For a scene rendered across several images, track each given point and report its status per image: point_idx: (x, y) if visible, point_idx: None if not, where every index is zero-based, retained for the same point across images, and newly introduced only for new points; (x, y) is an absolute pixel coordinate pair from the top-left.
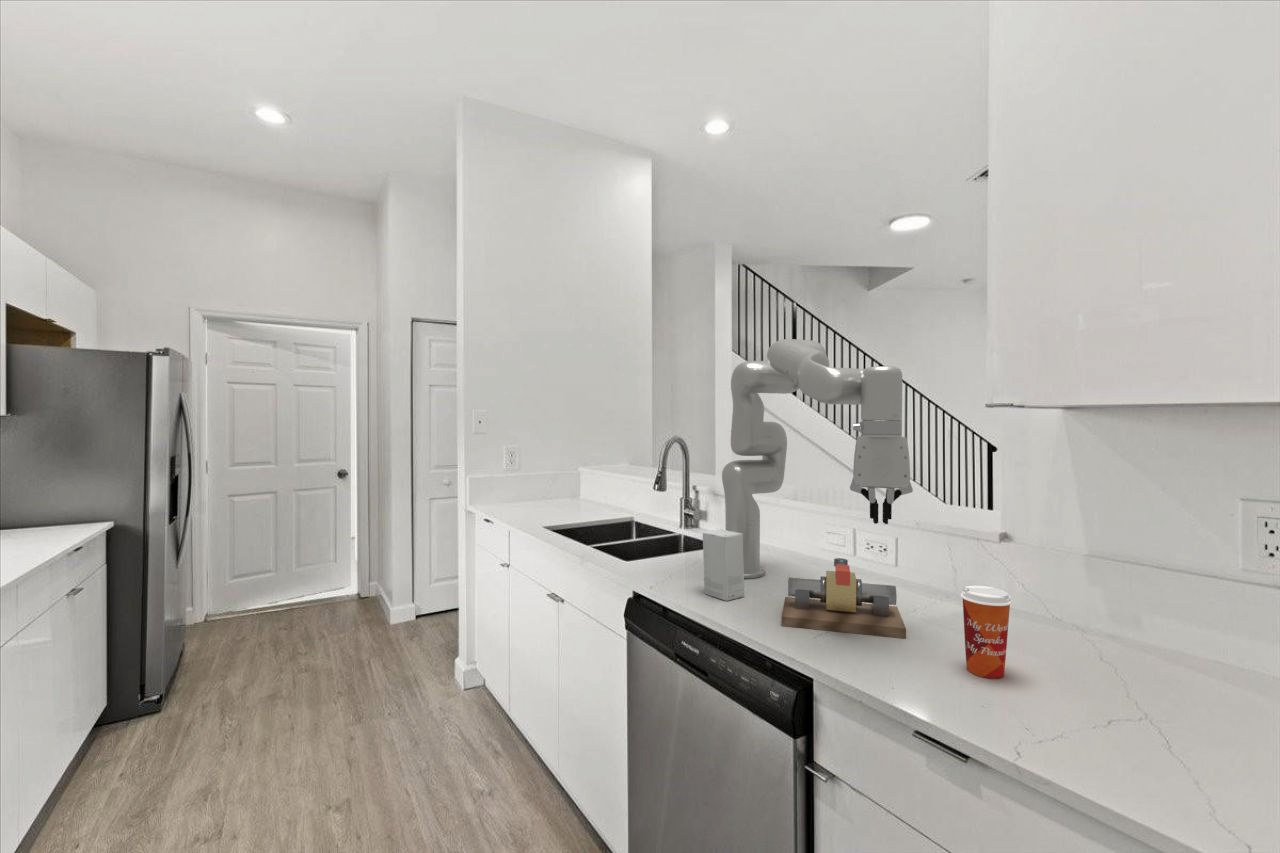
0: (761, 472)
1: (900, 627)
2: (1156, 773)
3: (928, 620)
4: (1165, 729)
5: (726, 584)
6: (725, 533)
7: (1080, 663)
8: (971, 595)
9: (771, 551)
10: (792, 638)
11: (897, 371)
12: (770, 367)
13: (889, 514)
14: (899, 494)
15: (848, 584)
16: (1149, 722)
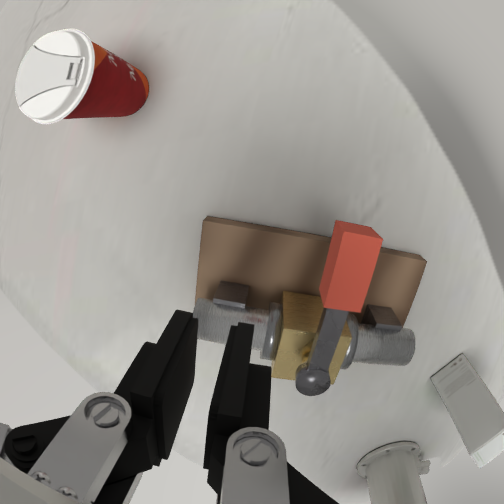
0: None
1: (212, 224)
2: None
3: (149, 308)
4: (32, 13)
5: (472, 369)
6: (496, 444)
7: (17, 163)
8: (79, 41)
9: None
10: (416, 195)
11: None
12: None
13: (149, 355)
14: (24, 433)
15: (340, 222)
16: (35, 21)
